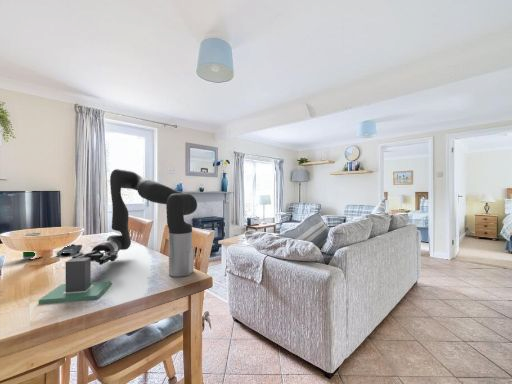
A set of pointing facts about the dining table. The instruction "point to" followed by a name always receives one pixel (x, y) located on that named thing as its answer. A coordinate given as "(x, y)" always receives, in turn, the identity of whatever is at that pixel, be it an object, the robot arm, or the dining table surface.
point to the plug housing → (78, 274)
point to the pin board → (76, 293)
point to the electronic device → (70, 250)
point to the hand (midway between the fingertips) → (87, 262)
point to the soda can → (30, 254)
